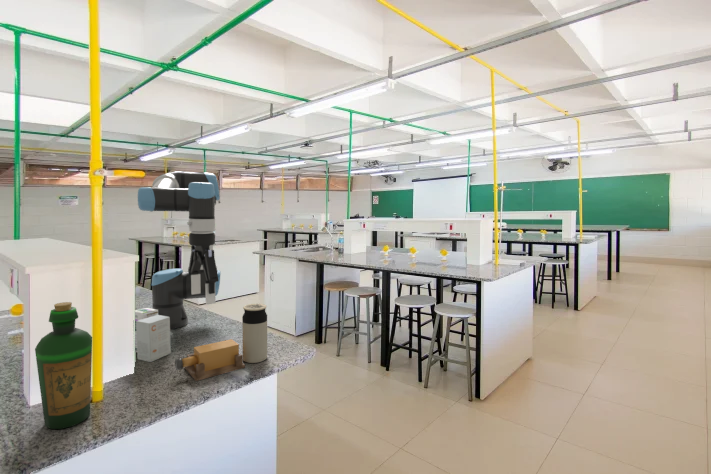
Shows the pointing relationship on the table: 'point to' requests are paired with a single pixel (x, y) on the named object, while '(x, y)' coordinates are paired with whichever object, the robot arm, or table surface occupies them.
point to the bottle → (64, 369)
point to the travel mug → (254, 333)
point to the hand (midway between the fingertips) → (203, 298)
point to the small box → (153, 337)
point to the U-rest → (201, 374)
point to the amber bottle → (211, 355)
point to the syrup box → (142, 315)
